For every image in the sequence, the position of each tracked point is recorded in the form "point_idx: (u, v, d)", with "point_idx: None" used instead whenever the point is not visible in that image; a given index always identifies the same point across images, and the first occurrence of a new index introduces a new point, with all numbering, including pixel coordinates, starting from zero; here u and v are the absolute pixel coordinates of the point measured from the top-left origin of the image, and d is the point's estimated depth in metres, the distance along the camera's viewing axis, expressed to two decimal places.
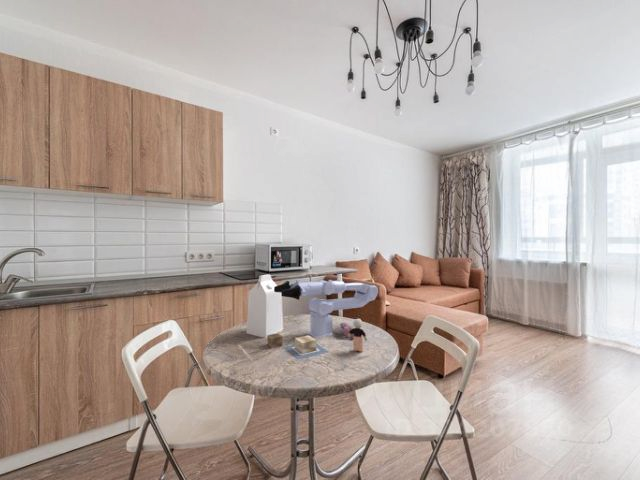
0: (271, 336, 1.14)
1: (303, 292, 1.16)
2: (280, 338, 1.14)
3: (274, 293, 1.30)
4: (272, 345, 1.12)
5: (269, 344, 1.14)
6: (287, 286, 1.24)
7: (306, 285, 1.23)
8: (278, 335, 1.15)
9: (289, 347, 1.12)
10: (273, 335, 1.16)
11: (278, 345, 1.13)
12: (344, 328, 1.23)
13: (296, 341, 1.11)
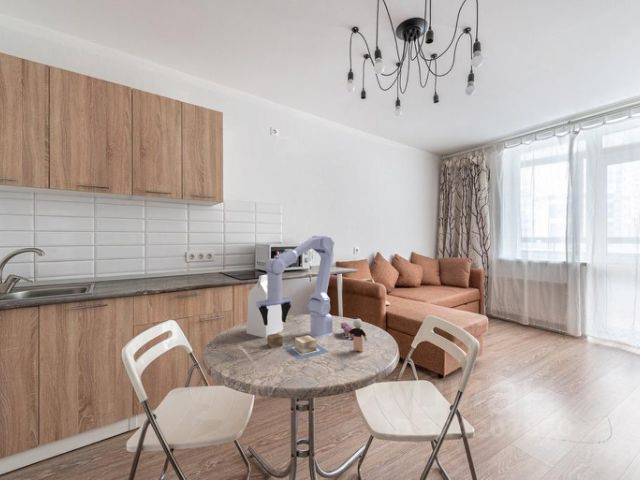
0: (271, 336, 1.14)
1: None
2: (280, 338, 1.14)
3: None
4: (272, 345, 1.12)
5: (269, 344, 1.14)
6: None
7: (281, 293, 1.14)
8: (278, 335, 1.15)
9: (289, 347, 1.12)
10: (273, 335, 1.16)
11: (278, 345, 1.13)
12: (345, 328, 1.23)
13: (296, 341, 1.11)
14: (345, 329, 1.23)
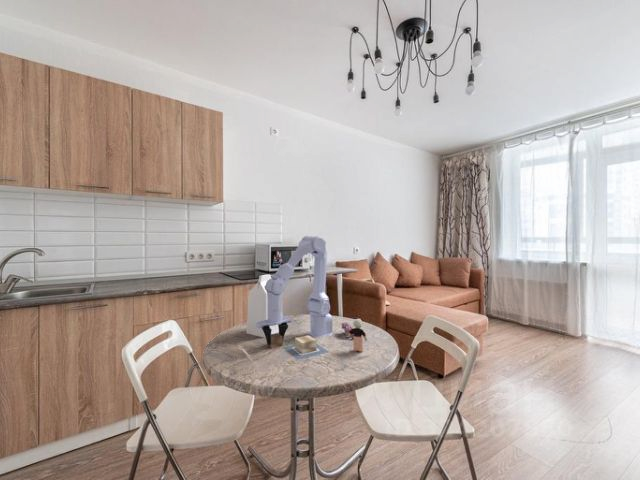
0: (271, 336, 1.14)
1: None
2: (280, 338, 1.14)
3: None
4: (272, 345, 1.12)
5: None
6: None
7: (281, 313, 1.14)
8: (278, 335, 1.15)
9: (289, 347, 1.12)
10: (273, 334, 1.16)
11: (278, 345, 1.13)
12: (346, 328, 1.23)
13: (296, 341, 1.11)
14: (346, 329, 1.23)
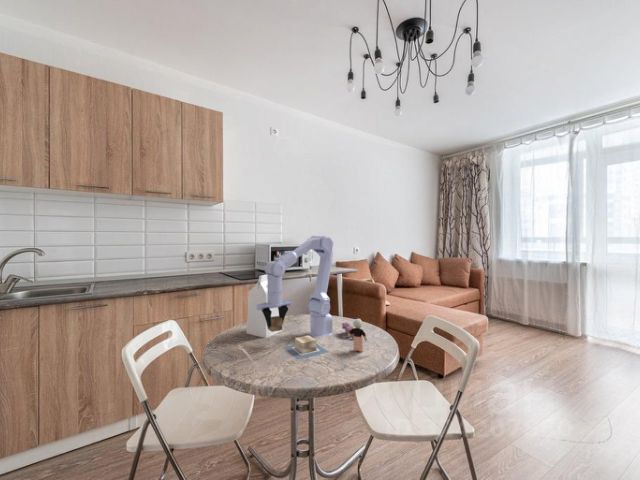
0: (271, 318, 1.14)
1: None
2: (280, 320, 1.13)
3: None
4: (272, 327, 1.12)
5: None
6: None
7: (281, 295, 1.14)
8: (278, 317, 1.15)
9: (289, 347, 1.12)
10: (273, 317, 1.15)
11: (278, 327, 1.13)
12: (346, 328, 1.23)
13: (296, 341, 1.11)
14: (346, 329, 1.23)
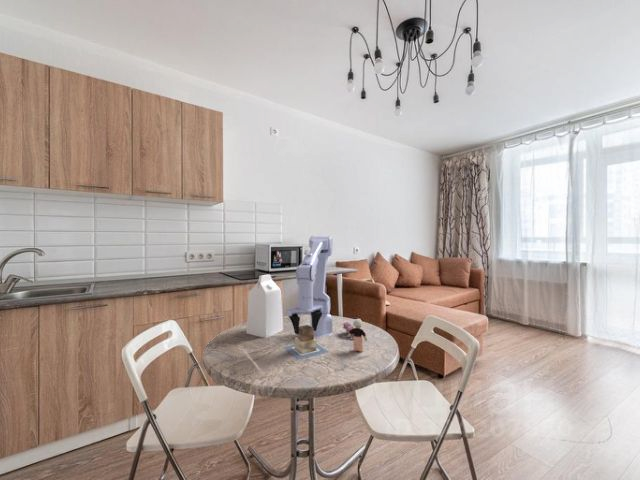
0: (302, 328, 1.10)
1: None
2: (311, 330, 1.09)
3: (274, 293, 1.30)
4: (304, 337, 1.08)
5: (300, 336, 1.09)
6: None
7: (312, 300, 1.10)
8: (309, 327, 1.11)
9: (289, 347, 1.12)
10: (304, 326, 1.11)
11: (309, 337, 1.09)
12: (347, 328, 1.23)
13: (296, 341, 1.11)
14: (347, 329, 1.23)
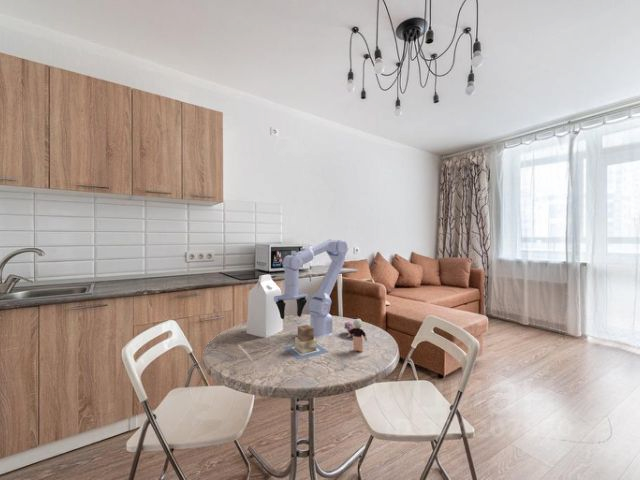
0: (302, 328, 1.10)
1: None
2: (311, 330, 1.09)
3: (274, 293, 1.30)
4: (304, 337, 1.08)
5: (300, 336, 1.09)
6: None
7: (297, 288, 1.19)
8: (309, 327, 1.11)
9: (289, 347, 1.12)
10: (304, 326, 1.11)
11: (309, 337, 1.09)
12: (349, 328, 1.24)
13: (296, 341, 1.11)
14: (349, 329, 1.23)
